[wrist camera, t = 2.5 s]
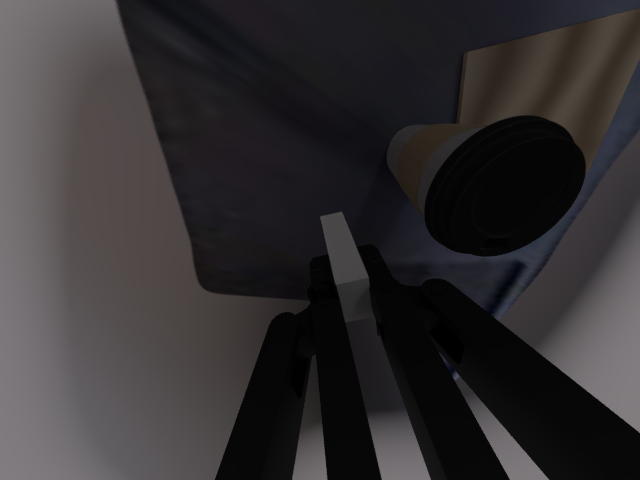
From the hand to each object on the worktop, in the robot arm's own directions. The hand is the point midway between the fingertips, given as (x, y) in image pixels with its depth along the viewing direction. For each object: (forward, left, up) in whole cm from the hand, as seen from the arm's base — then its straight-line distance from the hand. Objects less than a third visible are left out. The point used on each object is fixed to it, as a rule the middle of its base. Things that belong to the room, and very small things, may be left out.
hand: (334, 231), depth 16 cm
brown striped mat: (-25, 0, -13) cm, 28 cm away
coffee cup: (-11, 0, -13) cm, 17 cm away
